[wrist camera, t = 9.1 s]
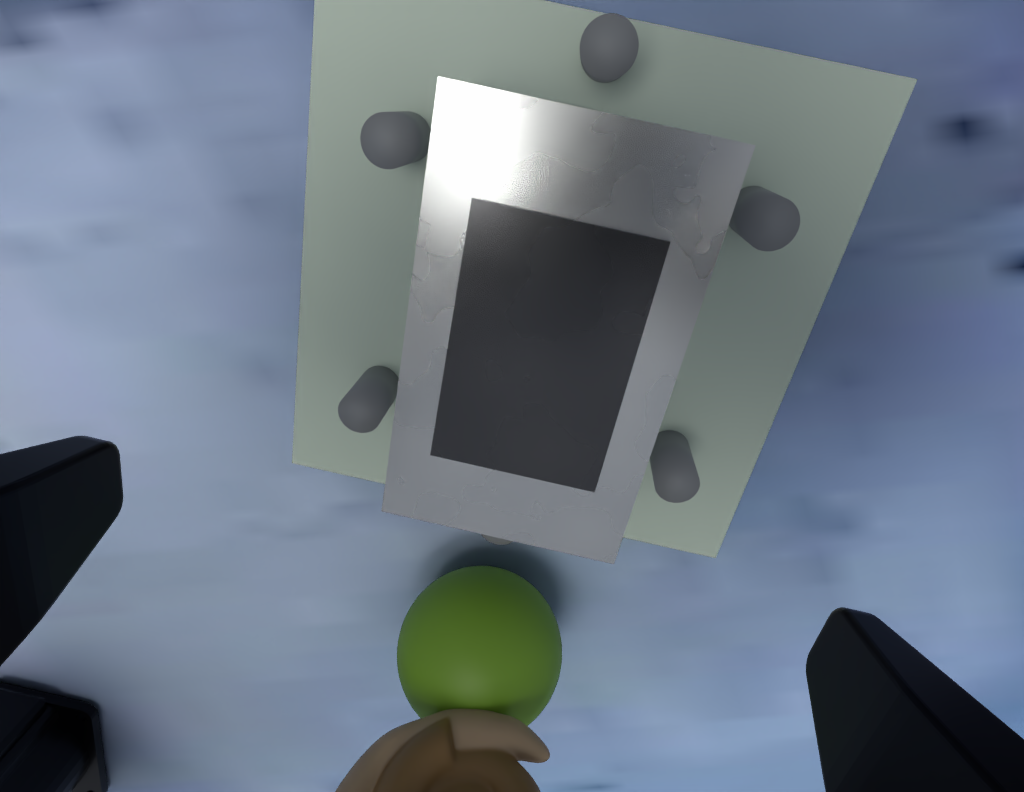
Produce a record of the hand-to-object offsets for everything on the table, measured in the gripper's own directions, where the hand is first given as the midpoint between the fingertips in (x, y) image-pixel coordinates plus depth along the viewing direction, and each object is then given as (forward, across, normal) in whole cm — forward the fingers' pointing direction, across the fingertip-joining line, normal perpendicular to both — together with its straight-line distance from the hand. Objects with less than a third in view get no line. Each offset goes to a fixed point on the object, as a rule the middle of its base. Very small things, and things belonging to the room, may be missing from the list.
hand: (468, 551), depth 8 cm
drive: (+11, 0, 0) cm, 11 cm away
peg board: (+12, 0, 0) cm, 12 cm away
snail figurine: (+12, 0, +12) cm, 17 cm away
